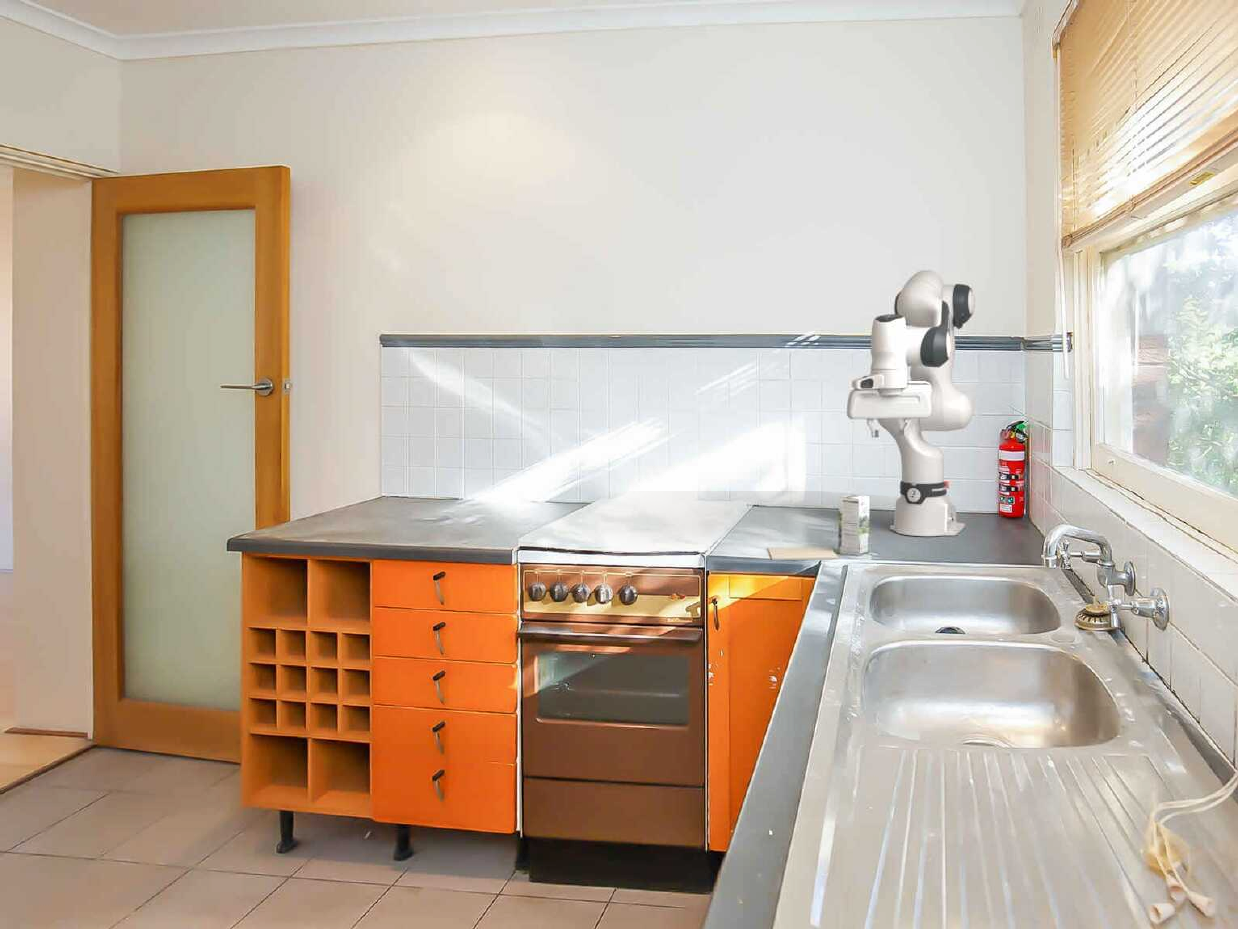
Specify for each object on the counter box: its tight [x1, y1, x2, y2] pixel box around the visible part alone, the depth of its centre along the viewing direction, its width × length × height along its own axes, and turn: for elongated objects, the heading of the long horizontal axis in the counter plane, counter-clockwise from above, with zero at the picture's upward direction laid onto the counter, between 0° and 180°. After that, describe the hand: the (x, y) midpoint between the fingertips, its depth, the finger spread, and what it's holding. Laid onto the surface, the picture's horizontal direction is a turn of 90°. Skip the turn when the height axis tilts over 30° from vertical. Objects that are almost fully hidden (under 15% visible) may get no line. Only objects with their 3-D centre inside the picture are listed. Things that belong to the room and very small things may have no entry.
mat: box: [767, 546, 839, 561], centre depth 267 cm, size 16×14×1 cm
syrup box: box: [837, 494, 871, 557], centre depth 265 cm, size 6×6×14 cm
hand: (888, 436), depth 262 cm, fingers open, 5 cm apart
